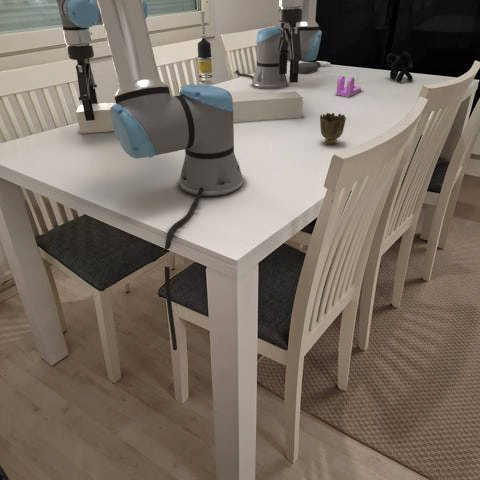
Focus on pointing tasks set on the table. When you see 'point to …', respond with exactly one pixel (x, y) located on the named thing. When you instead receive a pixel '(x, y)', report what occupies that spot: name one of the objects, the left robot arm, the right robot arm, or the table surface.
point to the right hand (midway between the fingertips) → (287, 78)
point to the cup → (332, 127)
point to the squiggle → (399, 66)
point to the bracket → (349, 89)
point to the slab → (243, 105)
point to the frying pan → (310, 66)
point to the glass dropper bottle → (204, 56)
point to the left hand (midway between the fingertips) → (92, 114)
